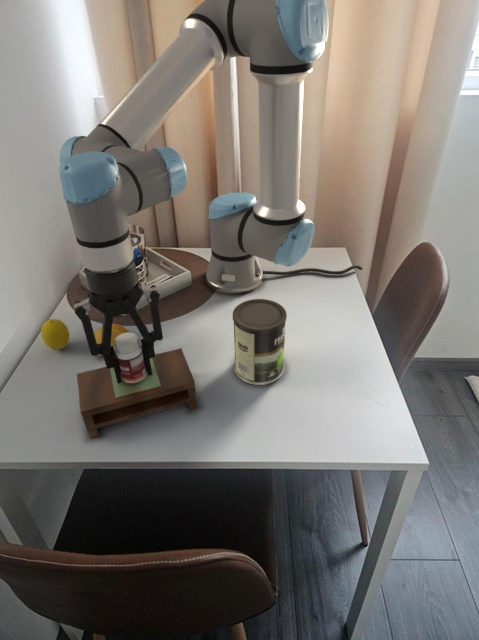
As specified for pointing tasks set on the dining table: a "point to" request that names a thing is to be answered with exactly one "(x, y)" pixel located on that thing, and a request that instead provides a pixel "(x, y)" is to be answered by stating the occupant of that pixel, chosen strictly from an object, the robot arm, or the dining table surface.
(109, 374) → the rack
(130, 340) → the pill bottle
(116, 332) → the bread roll
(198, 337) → the dining table surface
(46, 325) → the lemon
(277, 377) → the coffee can
